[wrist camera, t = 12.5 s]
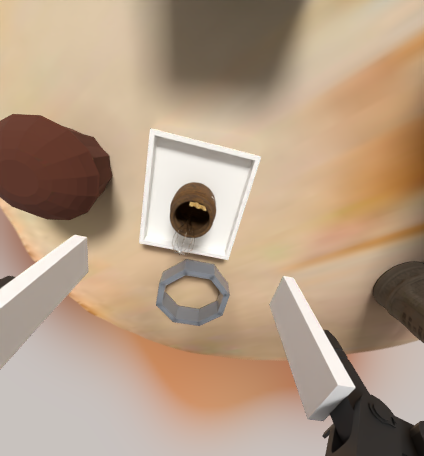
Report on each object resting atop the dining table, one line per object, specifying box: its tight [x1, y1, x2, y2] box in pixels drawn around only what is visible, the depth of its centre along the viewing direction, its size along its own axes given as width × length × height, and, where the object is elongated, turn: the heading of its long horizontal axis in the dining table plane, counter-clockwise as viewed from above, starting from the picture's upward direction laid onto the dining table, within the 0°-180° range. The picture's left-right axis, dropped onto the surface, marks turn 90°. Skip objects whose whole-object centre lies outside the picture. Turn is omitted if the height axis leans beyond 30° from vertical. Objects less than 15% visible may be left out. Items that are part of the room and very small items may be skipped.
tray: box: [139, 128, 261, 260], centre depth 29 cm, size 16×14×2 cm
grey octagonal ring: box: [156, 259, 230, 326], centre depth 36 cm, size 12×12×3 cm
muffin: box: [0, 114, 112, 220], centre depth 23 cm, size 12×11×10 cm
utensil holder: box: [170, 182, 216, 255], centre depth 24 cm, size 6×6×12 cm
